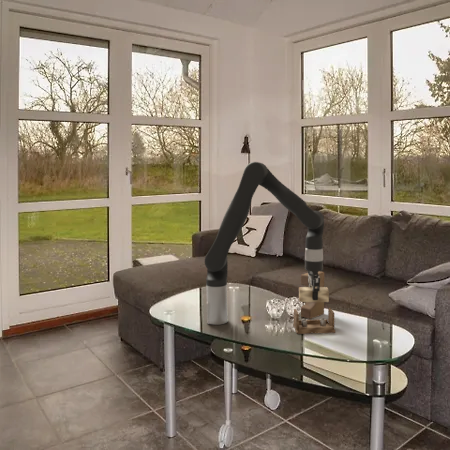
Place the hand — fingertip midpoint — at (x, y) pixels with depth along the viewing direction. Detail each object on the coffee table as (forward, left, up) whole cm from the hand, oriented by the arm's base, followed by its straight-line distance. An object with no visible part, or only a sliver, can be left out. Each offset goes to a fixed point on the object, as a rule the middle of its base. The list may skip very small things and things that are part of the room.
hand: (313, 297), depth 217 cm
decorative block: (+3, +18, -14) cm, 23 cm away
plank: (0, 0, -1) cm, 1 cm away
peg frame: (0, 0, -14) cm, 14 cm away
